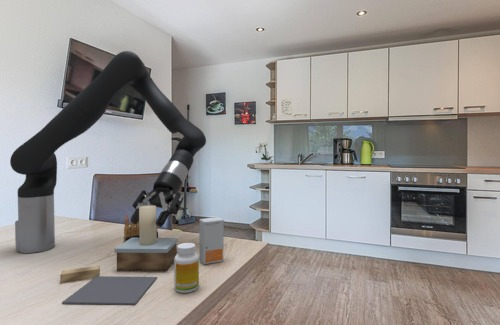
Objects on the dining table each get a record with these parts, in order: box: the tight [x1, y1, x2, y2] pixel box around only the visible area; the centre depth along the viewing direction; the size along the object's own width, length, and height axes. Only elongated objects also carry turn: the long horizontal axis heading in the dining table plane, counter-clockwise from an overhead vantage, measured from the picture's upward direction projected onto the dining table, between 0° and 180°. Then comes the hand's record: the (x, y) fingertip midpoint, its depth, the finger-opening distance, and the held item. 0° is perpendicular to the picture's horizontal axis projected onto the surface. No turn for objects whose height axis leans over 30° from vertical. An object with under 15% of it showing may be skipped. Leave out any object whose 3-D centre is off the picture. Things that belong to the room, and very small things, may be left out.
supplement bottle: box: [173, 242, 200, 294], centre depth 62 cm, size 5×5×10 cm
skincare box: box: [198, 216, 225, 266], centre depth 78 cm, size 6×4×12 cm
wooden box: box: [116, 243, 178, 273], centre depth 76 cm, size 13×9×5 cm
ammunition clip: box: [123, 213, 159, 243], centre depth 88 cm, size 11×2×12 cm, turn 132°
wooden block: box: [59, 265, 101, 284], centre depth 67 cm, size 8×2×2 cm, turn 113°
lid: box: [114, 204, 179, 254], centre depth 76 cm, size 14×10×11 cm
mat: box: [61, 275, 158, 306], centre depth 61 cm, size 15×12×1 cm
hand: (145, 224), depth 75 cm, fingers open, 8 cm apart
